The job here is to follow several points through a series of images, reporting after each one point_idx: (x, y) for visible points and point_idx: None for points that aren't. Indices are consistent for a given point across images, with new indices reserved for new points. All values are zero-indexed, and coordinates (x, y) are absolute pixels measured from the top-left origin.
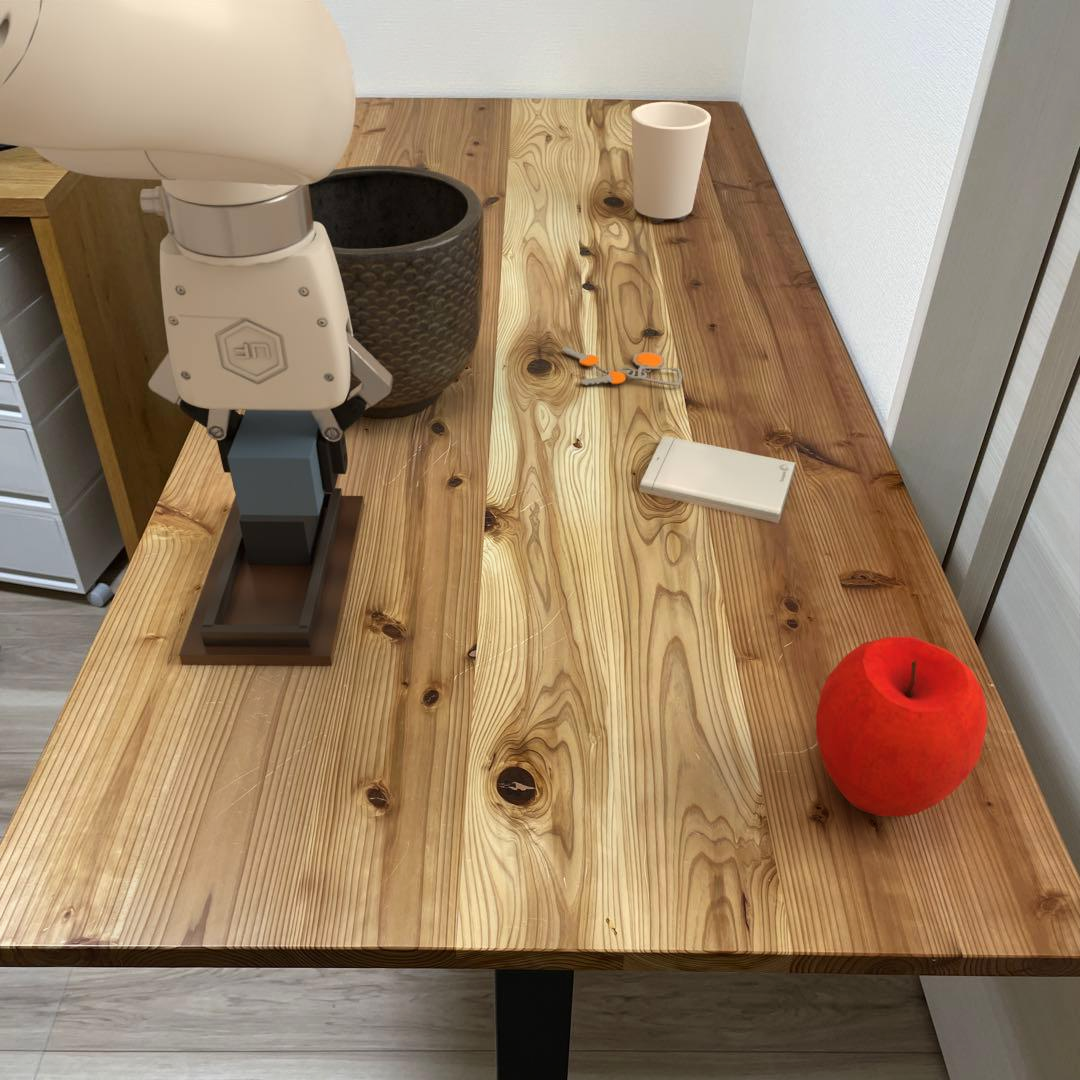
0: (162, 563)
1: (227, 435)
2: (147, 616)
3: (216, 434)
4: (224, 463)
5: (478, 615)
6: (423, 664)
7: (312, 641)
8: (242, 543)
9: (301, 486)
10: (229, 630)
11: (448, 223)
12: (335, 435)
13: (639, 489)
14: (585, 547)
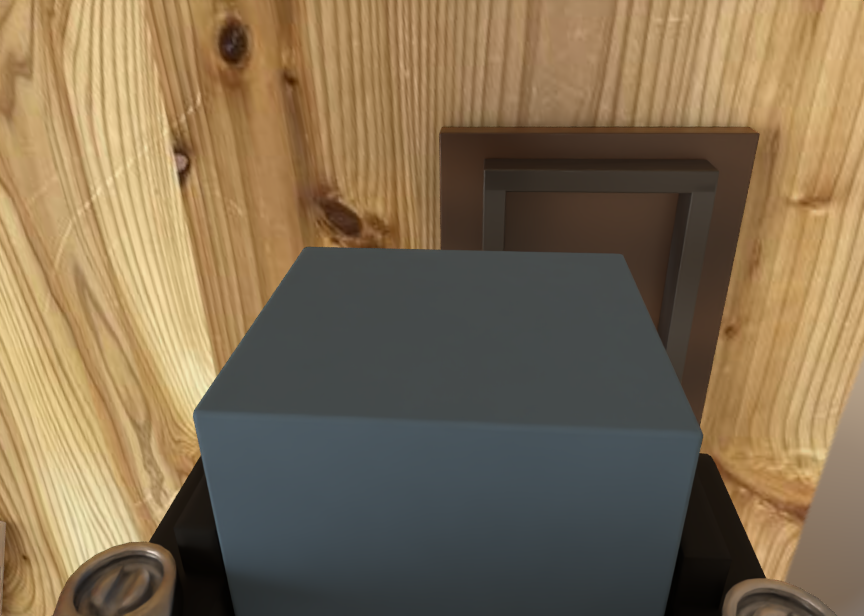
0: (804, 392)
1: (714, 608)
2: (828, 259)
3: (782, 612)
4: (711, 482)
5: (193, 257)
6: (266, 132)
7: (482, 173)
8: None
9: (316, 312)
10: (654, 175)
11: None
12: (111, 573)
13: (2, 525)
14: (54, 410)
